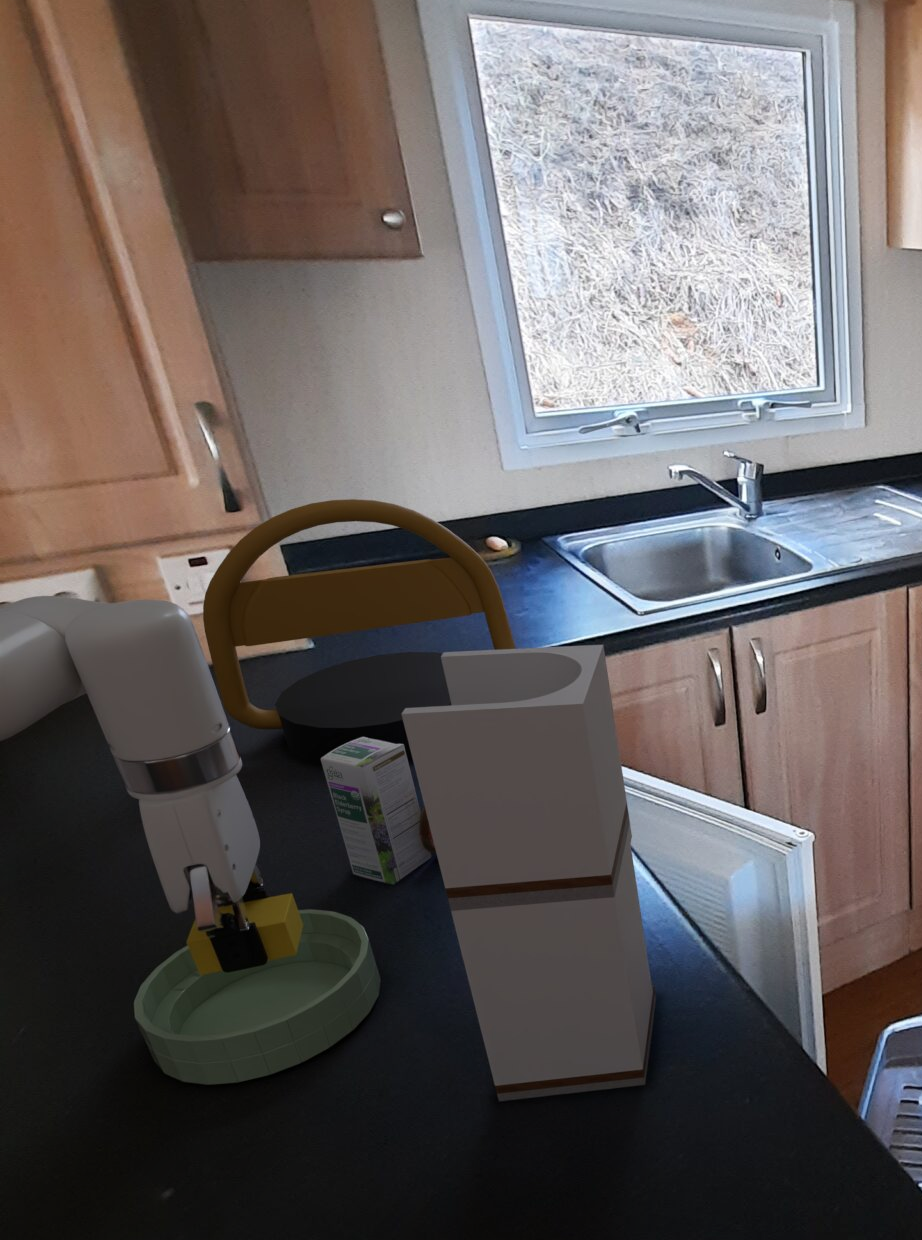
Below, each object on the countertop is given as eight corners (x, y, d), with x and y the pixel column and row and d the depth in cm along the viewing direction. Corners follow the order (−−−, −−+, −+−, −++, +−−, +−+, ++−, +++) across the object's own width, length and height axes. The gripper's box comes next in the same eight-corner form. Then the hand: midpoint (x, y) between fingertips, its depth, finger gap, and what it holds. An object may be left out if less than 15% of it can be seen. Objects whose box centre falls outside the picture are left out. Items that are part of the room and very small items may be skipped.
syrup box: (351, 877, 112) (315, 758, 106) (394, 848, 117) (362, 733, 111) (394, 887, 111) (360, 767, 104) (435, 858, 116) (405, 741, 109)
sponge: (199, 975, 86) (185, 942, 85) (211, 944, 90) (197, 910, 88) (296, 955, 89) (284, 922, 87) (303, 925, 92) (292, 892, 91)
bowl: (131, 1116, 83) (107, 1064, 80) (181, 981, 97) (162, 934, 94) (374, 1058, 89) (358, 1008, 86) (388, 939, 103) (375, 893, 100)
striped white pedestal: (656, 1001, 96) (603, 644, 80) (645, 1088, 86) (583, 703, 70) (525, 1014, 94) (443, 652, 78) (499, 1104, 84) (401, 714, 68)
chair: (539, 739, 141) (495, 507, 127) (234, 797, 126) (145, 543, 112) (515, 673, 161) (474, 465, 146) (248, 716, 146) (174, 491, 132)
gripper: (150, 723, 87) (221, 903, 95) (88, 823, 73) (177, 1024, 81) (255, 708, 89) (314, 885, 98) (214, 802, 75) (287, 999, 84)
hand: (251, 946), depth 89 cm, fingers closed on sponge, 4 cm apart
